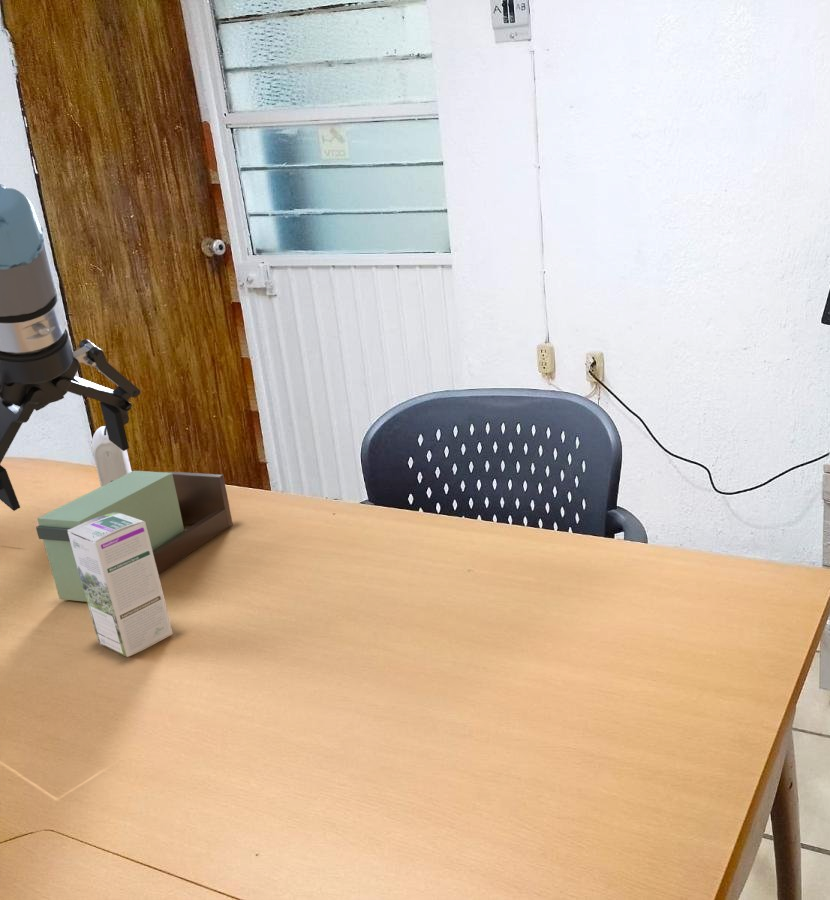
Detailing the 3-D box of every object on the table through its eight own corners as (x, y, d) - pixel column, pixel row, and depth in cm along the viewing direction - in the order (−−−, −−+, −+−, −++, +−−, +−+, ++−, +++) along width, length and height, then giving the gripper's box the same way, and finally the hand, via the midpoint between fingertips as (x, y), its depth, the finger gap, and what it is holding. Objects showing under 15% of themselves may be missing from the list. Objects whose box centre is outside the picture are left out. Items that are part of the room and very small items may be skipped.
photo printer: (137, 510, 129) (119, 435, 125) (105, 516, 127) (87, 439, 123) (137, 488, 138) (121, 417, 134) (108, 493, 136) (90, 422, 132)
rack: (93, 573, 109) (78, 518, 107) (180, 520, 125) (169, 471, 122) (152, 579, 107) (139, 523, 105) (232, 524, 123) (223, 474, 120)
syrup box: (175, 634, 95) (148, 518, 90) (125, 660, 90) (94, 539, 85) (145, 621, 98) (118, 508, 93) (95, 646, 93) (64, 528, 88)
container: (55, 600, 102) (33, 519, 98) (150, 542, 117) (133, 470, 114) (98, 605, 101) (77, 522, 97) (188, 545, 116) (172, 472, 112)
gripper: (-87, 409, 76) (-22, 549, 90) (157, 305, 93) (179, 437, 107) (-136, 368, 78) (-64, 512, 92) (112, 273, 95) (139, 407, 109)
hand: (66, 472), depth 100 cm, fingers open, 13 cm apart
